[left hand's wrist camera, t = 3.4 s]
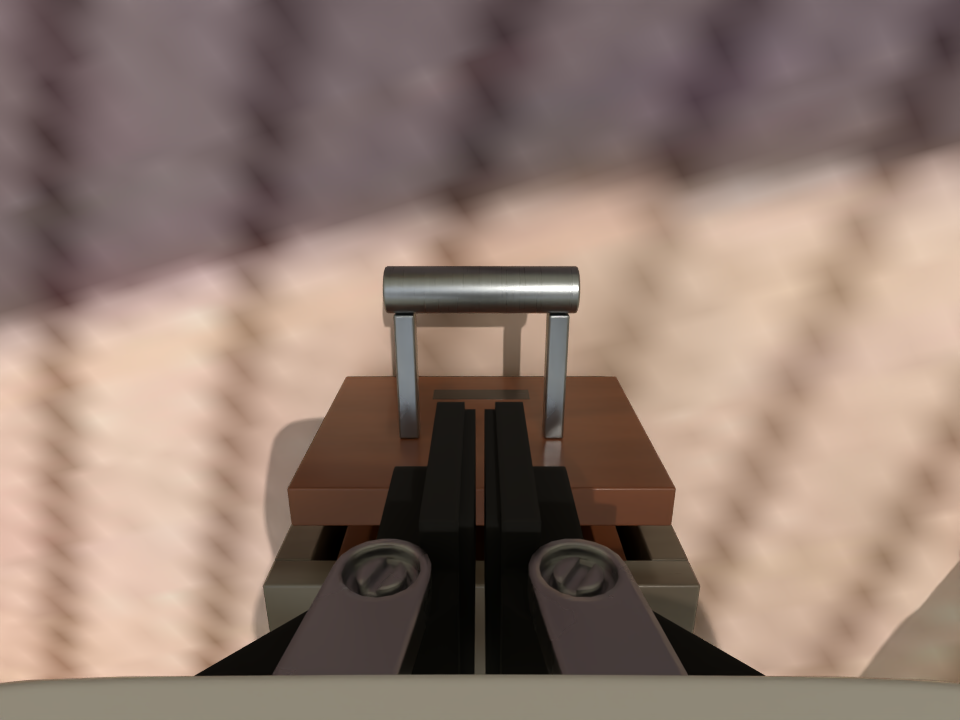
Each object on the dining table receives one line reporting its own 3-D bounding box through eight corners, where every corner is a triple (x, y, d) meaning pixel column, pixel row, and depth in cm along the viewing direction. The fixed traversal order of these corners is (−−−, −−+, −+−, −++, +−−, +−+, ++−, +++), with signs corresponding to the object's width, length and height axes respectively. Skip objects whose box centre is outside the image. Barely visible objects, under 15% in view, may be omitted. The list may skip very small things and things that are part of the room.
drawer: (334, 237, 22) (261, 294, 15) (628, 237, 22) (701, 294, 15) (376, 749, 31) (344, 944, 24) (585, 749, 31) (618, 944, 24)
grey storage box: (340, 418, 26) (261, 585, 16) (621, 418, 26) (701, 585, 16) (371, 780, 33) (330, 1035, 24) (589, 780, 33) (632, 1035, 24)
